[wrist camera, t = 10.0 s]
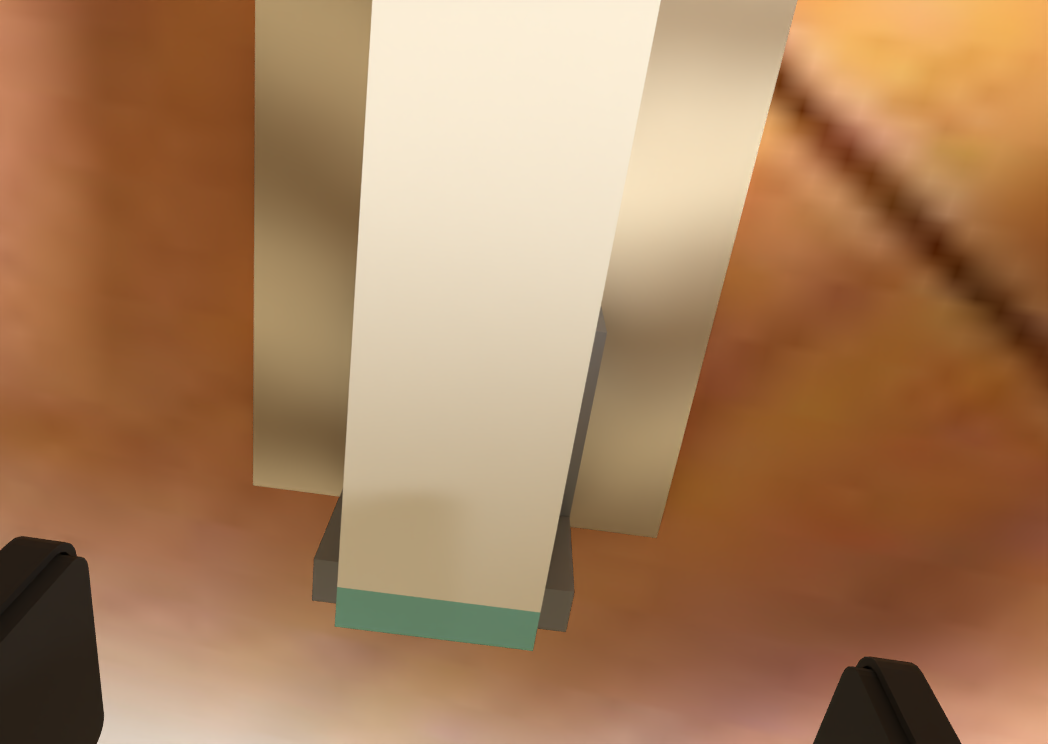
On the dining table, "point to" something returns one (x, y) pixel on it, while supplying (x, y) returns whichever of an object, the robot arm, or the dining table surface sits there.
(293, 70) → the base
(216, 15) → the dining table surface
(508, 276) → the white teal block
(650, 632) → the dining table surface
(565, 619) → the socket
